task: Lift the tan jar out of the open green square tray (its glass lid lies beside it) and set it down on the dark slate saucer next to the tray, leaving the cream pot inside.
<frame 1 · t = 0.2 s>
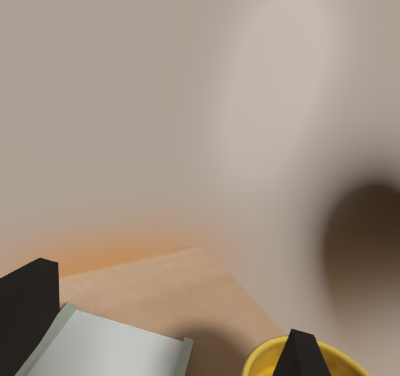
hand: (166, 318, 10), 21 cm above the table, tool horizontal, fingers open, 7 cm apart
glass lid: (109, 366, 31), on the table
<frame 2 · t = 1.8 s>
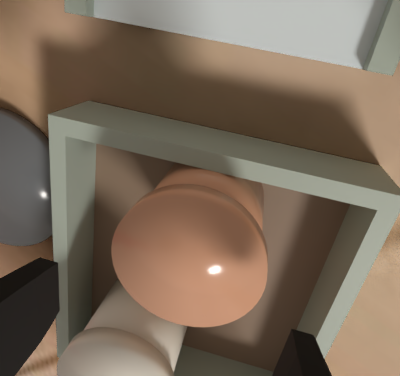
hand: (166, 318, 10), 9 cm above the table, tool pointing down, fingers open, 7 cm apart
tan jar: (212, 197, 17), point 1 cm above the table, touching green square tray
green square tray: (200, 257, 20), on the table
slate saucer: (5, 178, 20), on the table
cream pot: (151, 300, 21), point 1 cm above the table, touching green square tray
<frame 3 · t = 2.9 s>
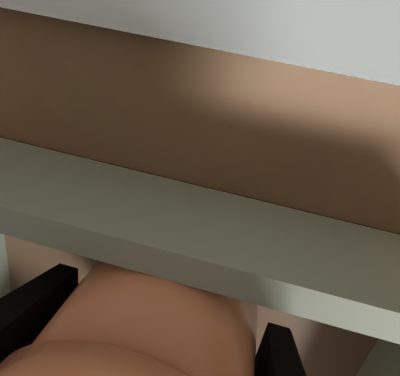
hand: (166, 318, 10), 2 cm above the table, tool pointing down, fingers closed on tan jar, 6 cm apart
tan jar: (179, 282, 11), point 1 cm above the table, touching green square tray, gripper
green square tray: (168, 353, 14), on the table
when the fingers open (4 cm above the table, at t = 6.3 s): tan jar stays where it is, resting on slate saucer.
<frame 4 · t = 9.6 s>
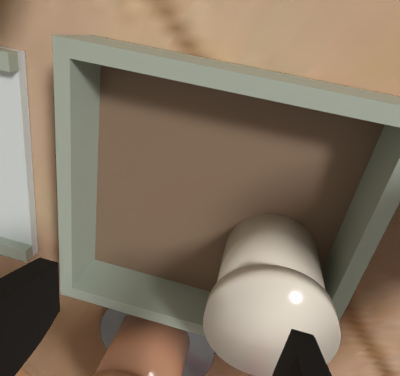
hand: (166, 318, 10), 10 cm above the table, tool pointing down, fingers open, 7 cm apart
tan jar: (154, 336, 24), point 1 cm above the table, touching slate saucer
green square tray: (214, 196, 20), on the table
slate saucer: (158, 335, 26), on the table
cream pot: (269, 253, 20), point 1 cm above the table, touching green square tray
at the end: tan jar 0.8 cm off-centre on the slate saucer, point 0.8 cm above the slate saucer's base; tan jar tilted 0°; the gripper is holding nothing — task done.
